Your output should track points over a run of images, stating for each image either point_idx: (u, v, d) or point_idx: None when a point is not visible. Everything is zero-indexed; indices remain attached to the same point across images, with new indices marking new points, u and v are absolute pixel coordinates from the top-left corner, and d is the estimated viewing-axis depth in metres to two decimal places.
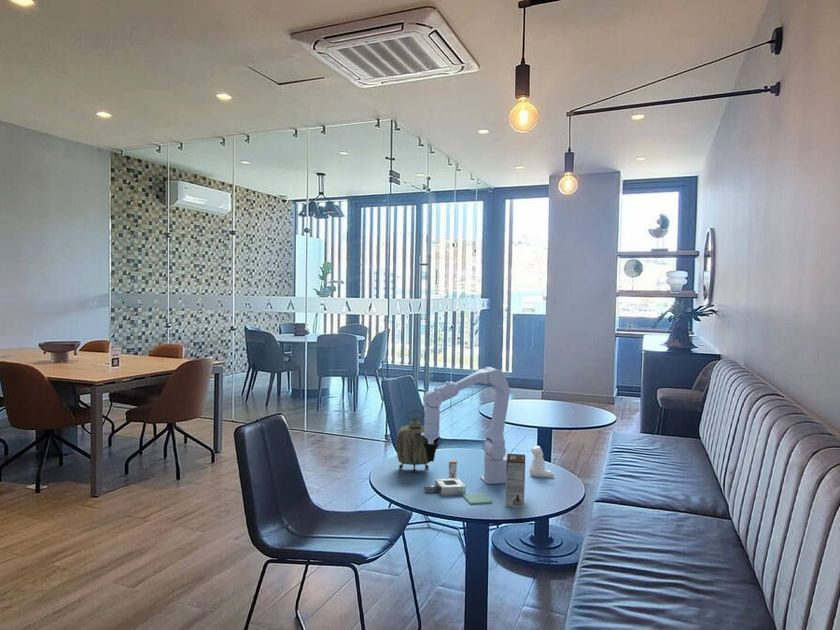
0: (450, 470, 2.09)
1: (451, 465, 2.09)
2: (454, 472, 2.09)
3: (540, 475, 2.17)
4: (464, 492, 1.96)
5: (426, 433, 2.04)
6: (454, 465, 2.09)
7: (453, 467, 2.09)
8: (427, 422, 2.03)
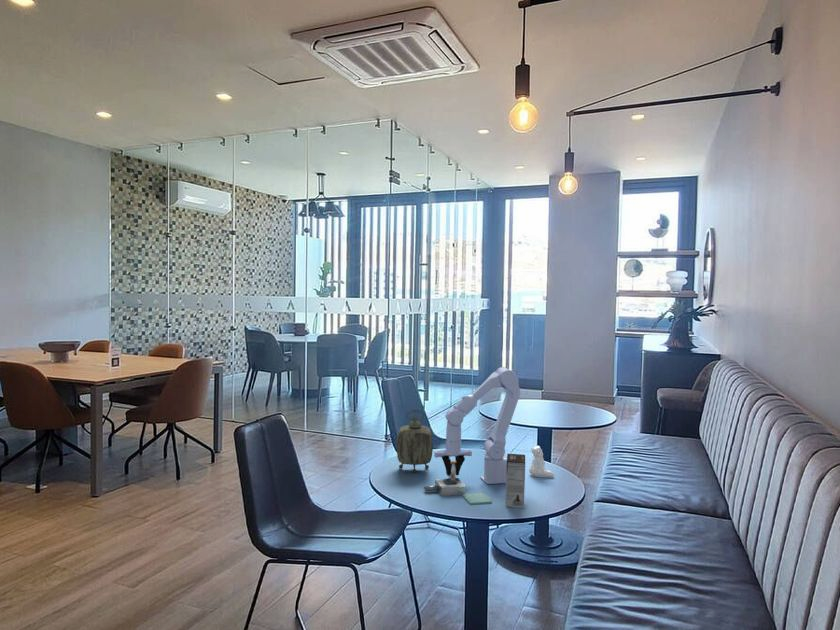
0: (450, 470, 2.09)
1: (451, 465, 2.09)
2: (454, 472, 2.09)
3: (540, 475, 2.17)
4: (464, 492, 1.96)
5: None
6: (454, 465, 2.09)
7: (453, 467, 2.09)
8: (448, 440, 2.08)
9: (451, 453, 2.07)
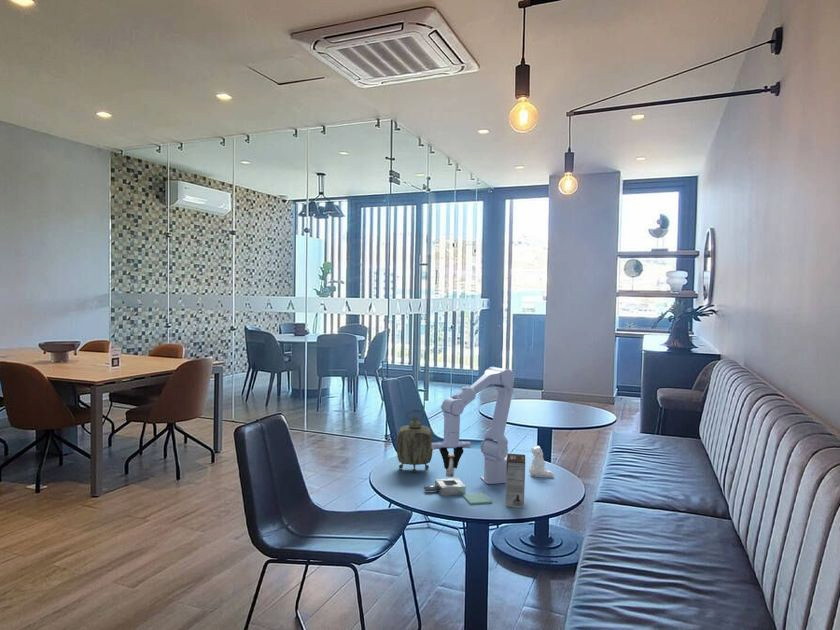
0: None
1: (448, 459, 1.98)
2: (451, 466, 1.98)
3: (540, 475, 2.17)
4: (464, 492, 1.96)
5: None
6: (451, 459, 1.98)
7: (450, 461, 1.98)
8: (450, 431, 1.96)
9: (449, 445, 1.96)
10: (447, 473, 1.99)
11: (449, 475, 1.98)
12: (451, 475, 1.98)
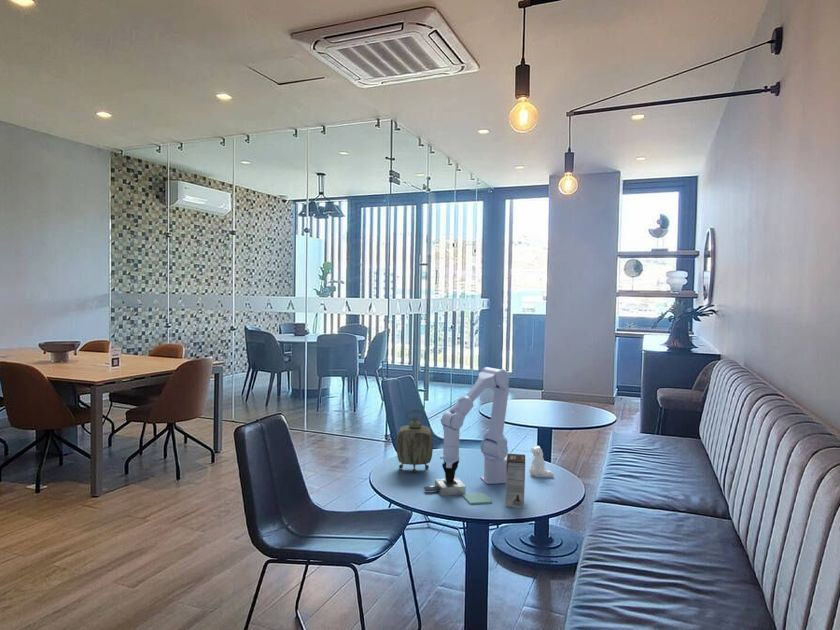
0: None
1: None
2: None
3: (540, 475, 2.17)
4: (464, 492, 1.96)
5: (445, 456, 1.97)
6: None
7: None
8: (449, 445, 1.96)
9: (457, 458, 1.97)
10: None
11: None
12: None
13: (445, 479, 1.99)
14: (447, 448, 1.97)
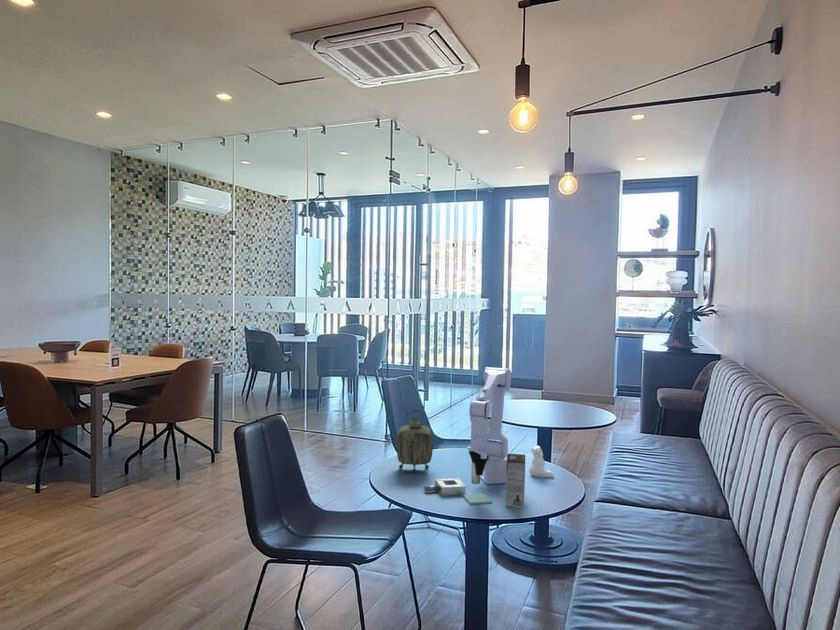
0: None
1: None
2: None
3: (540, 475, 2.17)
4: (464, 492, 1.96)
5: (475, 447, 1.88)
6: None
7: None
8: (482, 435, 1.88)
9: (487, 448, 1.90)
10: (477, 480, 1.90)
11: (479, 482, 1.90)
12: (479, 481, 1.91)
13: (472, 472, 1.90)
14: (477, 438, 1.88)
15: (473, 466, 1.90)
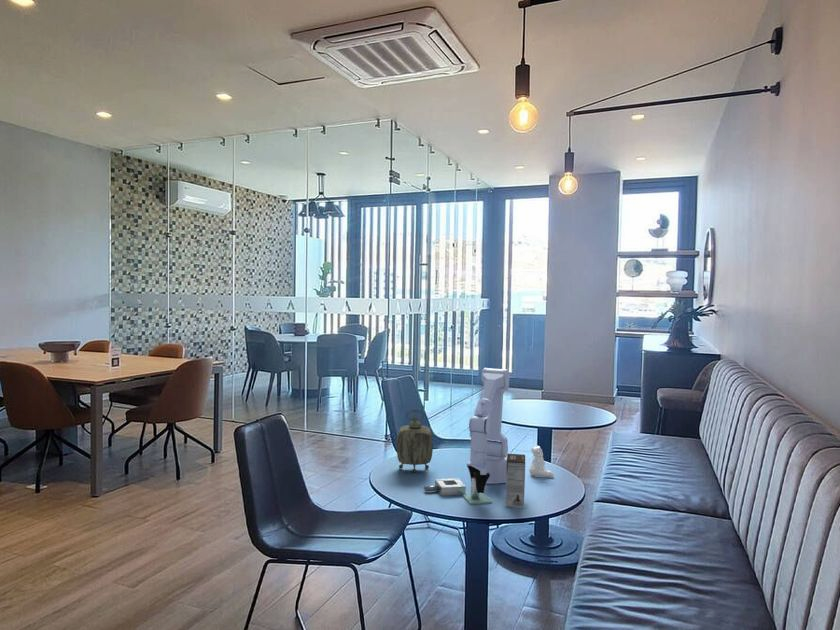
0: None
1: None
2: None
3: (540, 475, 2.17)
4: (464, 492, 1.96)
5: (474, 462, 1.89)
6: None
7: None
8: (482, 451, 1.88)
9: (486, 464, 1.90)
10: (477, 496, 1.90)
11: None
12: (479, 496, 1.91)
13: (472, 487, 1.90)
14: (477, 454, 1.88)
15: (473, 481, 1.90)
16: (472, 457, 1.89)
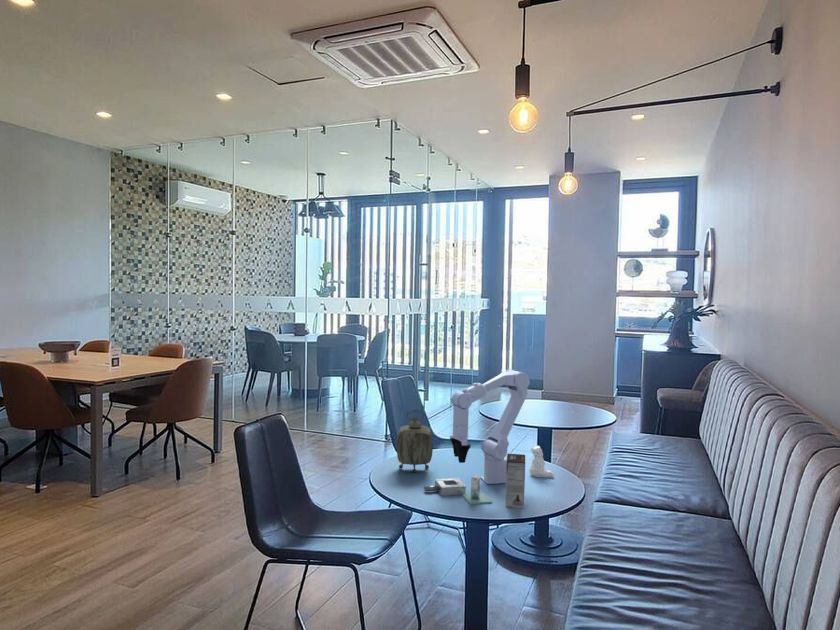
0: (477, 486, 1.90)
1: (478, 480, 1.90)
2: (479, 487, 1.91)
3: (540, 475, 2.17)
4: (464, 492, 1.96)
5: (456, 435, 2.03)
6: (479, 479, 1.91)
7: (479, 482, 1.91)
8: (457, 423, 2.02)
9: (467, 436, 2.04)
10: (477, 496, 1.90)
11: None
12: (479, 496, 1.91)
13: (472, 487, 1.90)
14: (459, 427, 2.02)
15: (473, 481, 1.90)
16: (454, 430, 2.03)
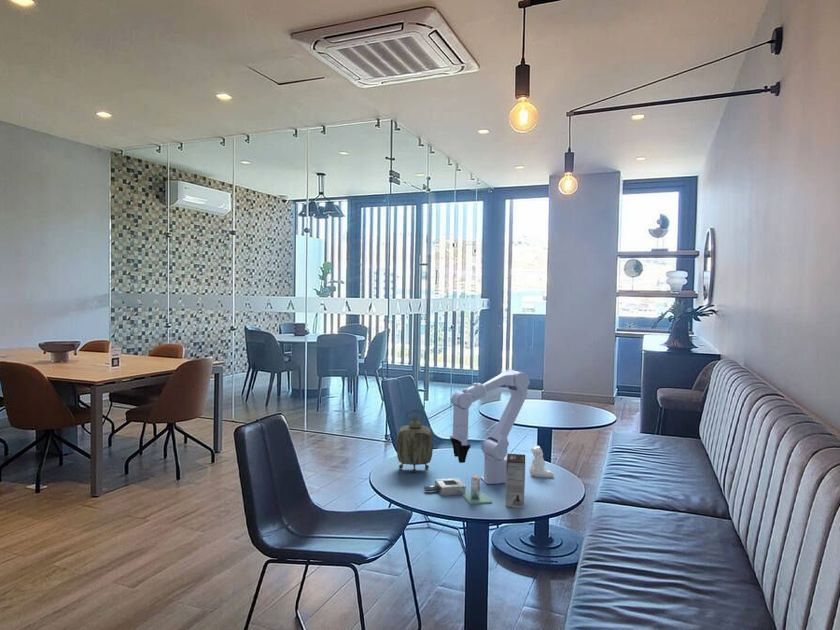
0: (477, 486, 1.90)
1: (478, 480, 1.90)
2: (479, 487, 1.91)
3: (540, 475, 2.17)
4: (464, 492, 1.96)
5: (456, 435, 2.03)
6: (479, 479, 1.91)
7: (479, 482, 1.91)
8: (457, 423, 2.02)
9: (467, 436, 2.04)
10: (477, 496, 1.90)
11: None
12: (479, 496, 1.91)
13: (472, 487, 1.90)
14: (459, 427, 2.02)
15: (473, 481, 1.90)
16: (454, 430, 2.03)
